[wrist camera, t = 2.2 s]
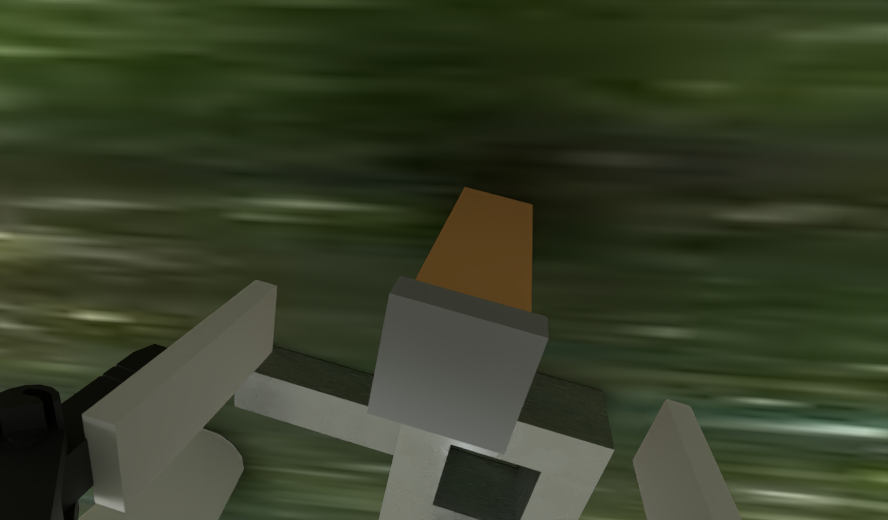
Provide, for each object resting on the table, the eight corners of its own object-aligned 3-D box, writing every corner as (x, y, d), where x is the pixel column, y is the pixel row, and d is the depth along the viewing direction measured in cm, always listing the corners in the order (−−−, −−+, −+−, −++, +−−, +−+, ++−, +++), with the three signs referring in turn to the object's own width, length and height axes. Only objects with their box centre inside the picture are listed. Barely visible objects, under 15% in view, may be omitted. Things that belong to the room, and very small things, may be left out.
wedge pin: (459, 178, 26) (389, 293, 14) (541, 199, 26) (548, 338, 13) (442, 252, 29) (367, 413, 16) (518, 273, 28) (504, 454, 15)
